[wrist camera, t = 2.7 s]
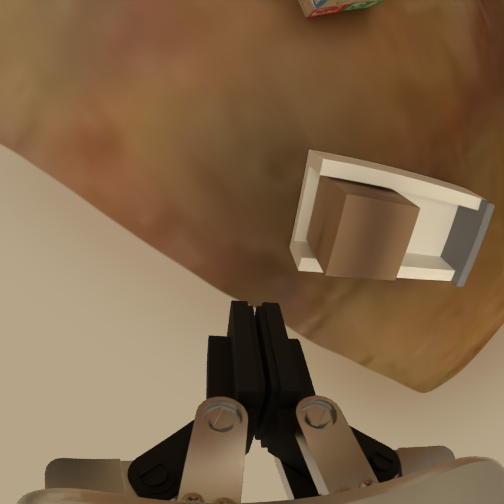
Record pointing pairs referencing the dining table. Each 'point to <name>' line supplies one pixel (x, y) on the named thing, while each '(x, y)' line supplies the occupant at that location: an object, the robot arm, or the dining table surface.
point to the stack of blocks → (333, 6)
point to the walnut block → (360, 229)
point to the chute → (427, 225)
